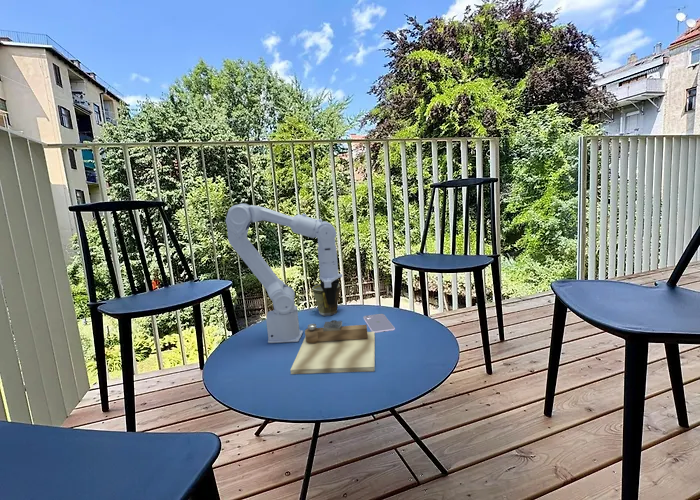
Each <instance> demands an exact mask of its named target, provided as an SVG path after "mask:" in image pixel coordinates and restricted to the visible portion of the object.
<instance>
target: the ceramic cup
mask: <svg viewBox="0 0 700 500" xmlns="http://www.w3.org/2000/svg"><path fill="white" fill-rule="evenodd" d="M340 290H341V285H340V284H338V287H337V290H336V300H335V304H331V305H328V303H327V300H326V296H325V293H324V291H323V289H322V288H321V286H320V283H318V284H316V285H314V286H312V293H313V295H314V300H315V302H316V306H317V311H318V314H319V315H321V316H324V317H326V316H333V315H336V314H337V313H338V308H339V307H338V306H339V305H338V304H339V296H340Z"/></svg>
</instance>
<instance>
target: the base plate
mask: <svg viewBox="0 0 700 500" xmlns="http://www.w3.org/2000/svg"><path fill="white" fill-rule="evenodd" d="M367 335H368V338H364V339H349V340H335V341H320V342H316V343H308V342H306V338H305V337H304V339H303V341H302V344H301V345H300V347H299V349H298V352H297V355H296V357H295V359H294V361H293V363H292V365H291V368H290V375H303V374H304V375H306V374H307V375H308V374H309V375H310V374H329V373H330V374H331V373H335V374H337V373H339V374H340V373H362V372H363V373H364V372H365V373H366V372H376V371H375V369H376V367H375V366H376V365H375V364H376V363H375V361H376V360H375V359H376V358H375V357H376V356H375V354H376V351H375V349H376V348H375V346H376V345H375V344H376V342H375V341H376V340H375V338H376V337H375V335H376V333H375V332H371V331H367Z"/></svg>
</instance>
